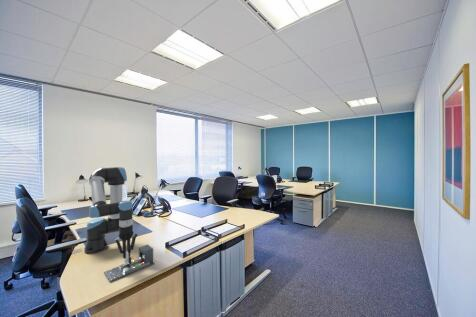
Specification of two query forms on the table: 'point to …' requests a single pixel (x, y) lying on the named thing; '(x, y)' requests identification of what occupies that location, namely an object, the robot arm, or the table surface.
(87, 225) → the robot arm
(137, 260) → the orange-striped grey block
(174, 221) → the table surface
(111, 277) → the gauge base
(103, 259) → the table surface
